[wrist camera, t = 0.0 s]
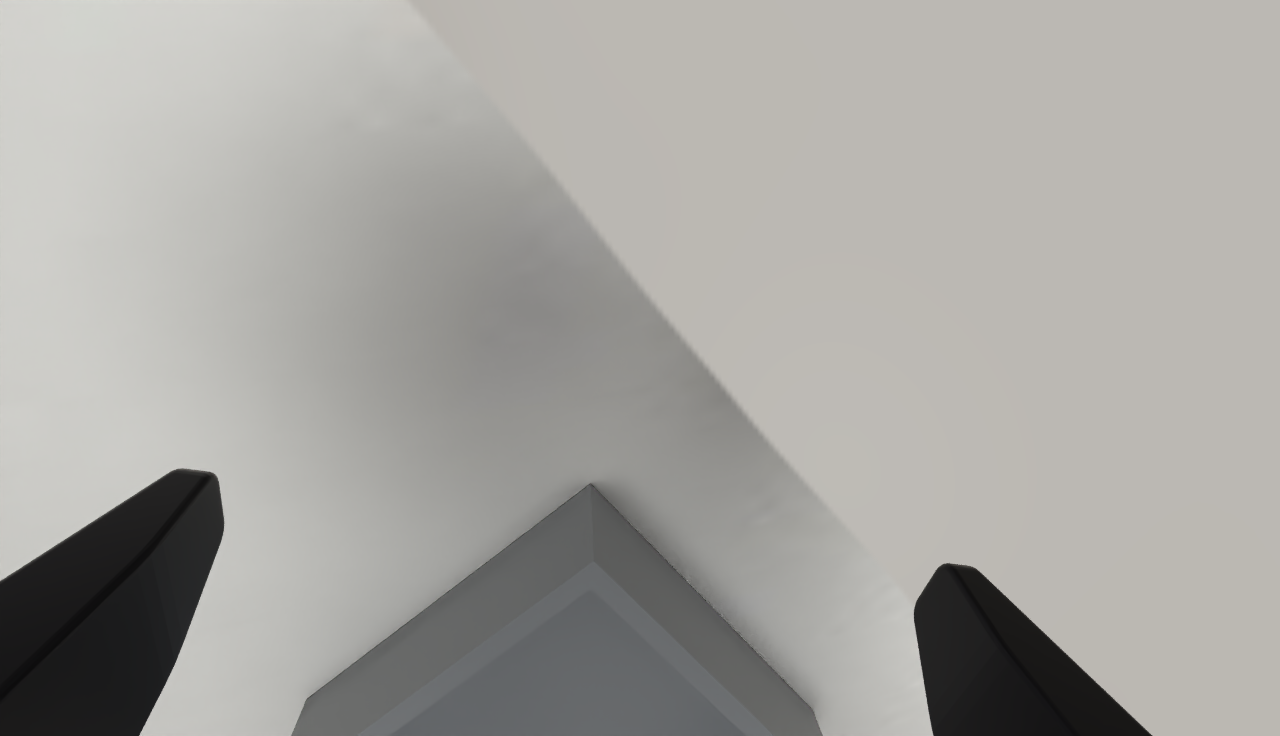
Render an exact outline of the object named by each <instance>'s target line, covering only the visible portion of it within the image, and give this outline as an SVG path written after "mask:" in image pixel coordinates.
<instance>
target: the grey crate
mask: <svg viewBox="0 0 1280 736" xmlns="http://www.w3.org/2000/svg"><path fill="white" fill-rule="evenodd" d="M291 736H822V733H821V730H820V728H819V725H818V722H817V720H816V717H815V714H814V712H813V710H812V709H811V708H810V707H809V706H808V705H807V704H806V703H805V702H804V701H803V700H802V699H801V698H800V697H799V696H798V695H797V694H796V693H795V692H794V690H793V689H792V688H791V687H790V686H789V685H788V684H787V683H786V682H785V681H784V680H783V679H782V678H781V677H780V676H779V675H778V674H777V673H776V672H775V671H774V670H773V669H772V668H771V667H770V666H769V665H768V664H767V663H766V662H765V661H764V660H763V659H762V658H761V657H760V656H759V655H758V654H757V653H756V652H755V651H754V650H753V649H752V648H751V647H750V646H749V645H748V644H747V643H746V642H745V641H744V640H743V639H742V638H741V637H740V636H739V634H738V633H737V632H736V631H735V630H734V629H733V628H732V627H731V626H730V625H729V624H728V623H727V622H726V621H725V620H724V619H723V618H722V617H721V616H720V615H719V614H718V613H717V612H716V611H715V610H714V609H713V608H712V607H711V606H710V605H709V604H708V603H707V602H706V601H705V600H704V599H703V598H702V597H701V596H700V595H699V594H698V593H697V592H696V591H695V590H694V589H693V588H692V587H691V586H690V585H689V584H688V583H687V582H686V581H685V580H684V578H683V577H682V576H681V575H680V574H679V573H678V572H677V571H676V570H675V569H674V568H673V567H672V566H671V565H670V564H669V563H668V562H667V561H666V560H665V559H664V558H663V557H662V556H661V555H660V554H659V553H658V552H657V551H656V550H655V549H654V548H653V547H652V546H651V545H650V544H649V543H648V542H647V541H646V540H645V539H644V538H643V537H642V536H641V535H640V534H639V533H638V532H637V531H636V530H635V529H634V528H633V527H632V526H631V525H630V524H629V522H628V521H627V520H626V519H625V518H624V517H623V516H622V515H621V514H620V513H619V512H618V511H617V510H616V509H615V508H614V507H613V506H612V505H611V504H610V503H609V502H608V501H607V500H606V499H605V498H604V497H603V496H602V495H601V494H600V493H599V492H598V491H597V490H596V489H595V488H594V487H593V486H592V485H591V484H590V485H588V486H587V487H586V488H584V489H583V490H582V491H580V492H579V493H578V494H576V495H575V496H574V497H573V498H571V499H570V500H569V501H567V502H566V503H565V504H563V505H562V506H561V507H559V508H558V509H557V510H555V511H554V512H553V513H551V514H550V515H549V516H548V517H546V518H545V519H544V520H542V521H541V522H540V523H538V524H537V525H536V526H534V527H533V528H532V529H530V530H529V531H528V532H526V533H525V534H524V535H522V536H521V537H520V538H519V539H517V540H516V541H515V542H513V543H512V544H511V545H509V546H508V547H507V548H505V549H504V550H503V551H501V552H500V553H499V554H497V555H496V556H495V557H494V558H492V559H491V560H490V561H488V562H487V563H486V564H484V565H483V566H482V567H480V568H479V569H478V570H476V571H475V572H474V573H472V574H471V575H470V576H469V577H467V578H466V579H465V580H463V581H462V582H461V583H459V584H458V585H457V586H455V587H454V588H453V589H451V590H450V591H449V592H447V593H446V594H445V595H443V596H442V597H441V598H440V599H438V600H437V601H436V602H434V603H433V604H432V605H430V606H429V607H428V608H426V609H425V610H424V611H422V612H421V613H420V614H418V615H417V616H416V617H415V618H413V619H412V620H411V621H409V622H408V623H407V624H405V625H404V626H403V627H401V628H400V629H399V630H397V631H396V632H395V633H393V634H392V635H391V636H390V637H388V638H387V639H386V640H384V641H383V642H382V643H380V644H379V645H378V646H376V647H375V648H374V649H372V650H371V651H370V652H368V653H367V654H366V655H365V656H363V657H362V658H361V659H359V660H358V661H357V662H355V663H354V664H353V665H351V666H350V667H349V668H347V669H346V670H345V671H343V672H342V673H341V674H339V675H338V676H337V677H336V678H334V679H333V680H332V681H330V682H329V683H328V684H326V685H325V686H324V687H322V688H321V689H320V690H318V691H317V692H316V693H314V694H313V695H312V696H311V697H309V698H308V699H307V700H306V702H305V704H304V707H303V709H302V711H301V714H300V716H299V719H298V721H297V723H296V726H295V728H294V731H293V733H292V735H291Z"/></svg>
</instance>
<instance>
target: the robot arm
mask: <svg viewBox="0 0 1280 736" xmlns="http://www.w3.org/2000/svg"><path fill="white" fill-rule="evenodd" d="M223 531H224V516H223V508H222V501H221V494H220V487H219V481H218V478H217V476H216V475H215V474H214V473H211V472H207V471H199V470H191V469H176V470H174V471H171V472H169V473H168V474H166V475H165V476H163V477H162V478H160V479H158V480H157V481H155V482H154V483H152V484H151V485H149V486H148V487H146V488H144V489H143V490H141V491H140V492H138V493H137V494H135V495H134V496H132V497H130V498H129V499H127V500H126V501H124V502H123V503H121V504H120V505H118V506H116V507H115V508H113V509H112V510H110V511H109V512H107V513H106V514H104V515H102V516H101V517H99V518H98V519H96V520H95V521H93V522H92V523H90V524H88V525H87V526H85V527H84V528H82V529H81V530H79V531H78V532H76V533H74V534H73V535H71V536H70V537H68V538H67V539H65V540H64V541H62V542H60V543H59V544H57V545H56V546H54V547H53V548H51V549H50V550H48V551H46V552H45V553H43V554H42V555H40V556H39V557H37V558H36V559H34V560H32V561H31V562H29V563H28V564H26V565H25V566H23V567H22V568H20V569H18V570H17V571H15V572H14V573H12V574H11V575H9V576H8V577H6V578H4V579H3V580H1V581H0V736H139V735H140V733H141V731H142V729H143V727H144V725H145V723H146V721H147V719H148V717H149V715H150V713H151V711H152V709H153V707H154V705H155V703H156V701H157V700H158V698H159V696H160V694H161V692H162V690H163V688H164V686H165V684H166V682H167V680H168V677H169V675H170V673H171V671H172V669H173V667H174V665H175V663H176V660H177V658H178V655H179V653H180V650H181V648H182V645H183V643H184V640H185V637H186V634H187V632H188V629H189V626H190V624H191V621H192V618H193V616H194V613H195V610H196V608H197V605H198V602H199V600H200V597H201V594H202V591H203V589H204V586H205V583H206V581H207V578H208V575H209V573H210V570H211V567H212V565H213V562H214V559H215V557H216V554H217V551H218V549H219V546H220V543H221V540H222V536H223ZM914 623H915V629H916V635H917V641H918V648H919V654H920V660H921V666H922V672H923V679H924V685H925V691H926V697H927V704H928V710H929V715H930V721H931V726H932V731H933V735H934V736H1152V735H1151V734H1150V733H1149V732H1148V731H1147V730H1146V729H1145V728H1143V726H1141V725H1140V724H1139V723H1138V722H1137V721H1136V720H1135V719H1134V718H1133V717H1132V716H1131V715H1130V714H1129V713H1128V712H1127V711H1126V710H1125V709H1123V707H1121V706H1120V705H1119V704H1118V703H1117V702H1116V701H1115V700H1114V699H1113V698H1112V697H1111V696H1110V695H1109V694H1108V693H1107V692H1106V691H1105V690H1104V689H1103V688H1101V687H1100V686H1099V685H1098V684H1097V683H1096V682H1095V681H1094V680H1093V679H1092V678H1091V677H1090V676H1089V675H1088V674H1087V673H1085V671H1083V670H1082V669H1081V668H1080V667H1079V666H1078V665H1077V664H1076V663H1075V662H1074V661H1073V660H1072V659H1071V658H1070V657H1069V656H1068V655H1067V654H1066V653H1064V651H1063V650H1062V649H1060V648H1059V647H1058V646H1057V645H1056V644H1055V643H1054V642H1053V641H1052V640H1051V639H1050V638H1049V637H1048V636H1047V635H1046V634H1045V633H1044V632H1043V631H1041V629H1039V628H1038V627H1037V626H1036V625H1035V624H1034V623H1033V622H1032V621H1031V620H1030V619H1029V618H1028V617H1027V616H1026V615H1025V614H1024V613H1022V612H1021V610H1019V609H1018V608H1017V607H1016V606H1015V605H1014V604H1013V603H1012V602H1011V601H1010V600H1009V599H1008V598H1007V597H1006V596H1005V595H1003V593H1002V592H1000V590H998V589H997V588H996V587H995V586H994V585H993V584H992V583H991V582H990V581H989V580H988V579H987V578H986V577H985V576H984V575H983V574H982V573H980V572H979V571H978V570H977V569H975V568H973V567H971V566H966V565H958V564H950V563H947V564H943V565H941V566H940V567H938V569H937V570H936V572H935V573H934V575H933V576H932V578H931V579H930V581H929V582H928V584H927V585H926V587H925V588H924V590H923V592H922V593H921V595H920V596H919V598H918V600H917V602H916V605H915V609H914Z"/></svg>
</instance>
